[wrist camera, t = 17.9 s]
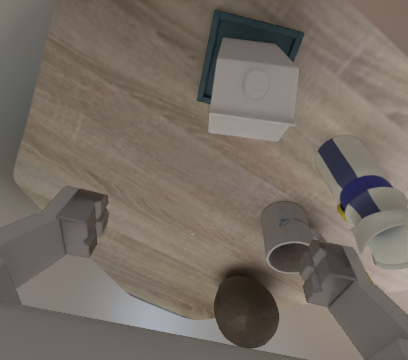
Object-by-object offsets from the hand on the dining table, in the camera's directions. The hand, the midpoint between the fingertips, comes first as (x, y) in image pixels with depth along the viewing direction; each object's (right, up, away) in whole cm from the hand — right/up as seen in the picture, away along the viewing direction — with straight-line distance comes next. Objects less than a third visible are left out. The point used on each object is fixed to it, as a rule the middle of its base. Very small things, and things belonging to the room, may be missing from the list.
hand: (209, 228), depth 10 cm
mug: (+17, -6, +42) cm, 46 cm away
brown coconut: (+10, -23, +55) cm, 60 cm away
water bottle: (+23, +6, +33) cm, 41 cm away
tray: (+6, +18, +26) cm, 32 cm away
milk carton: (+6, +18, +26) cm, 32 cm away
